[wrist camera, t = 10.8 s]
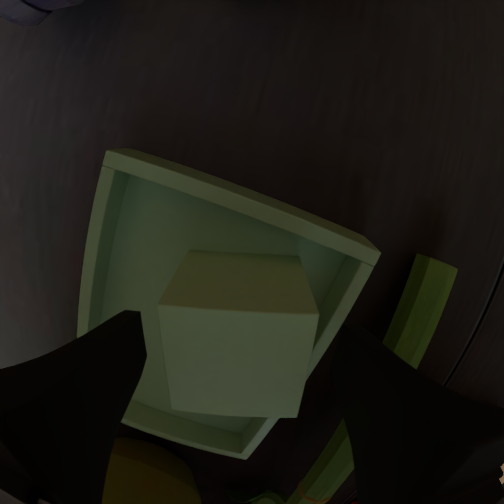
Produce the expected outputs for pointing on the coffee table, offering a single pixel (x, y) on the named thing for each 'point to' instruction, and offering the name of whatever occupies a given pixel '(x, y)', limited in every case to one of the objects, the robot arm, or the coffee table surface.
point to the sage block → (237, 334)
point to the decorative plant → (403, 345)
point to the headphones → (32, 10)
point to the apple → (147, 475)
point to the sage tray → (201, 239)
